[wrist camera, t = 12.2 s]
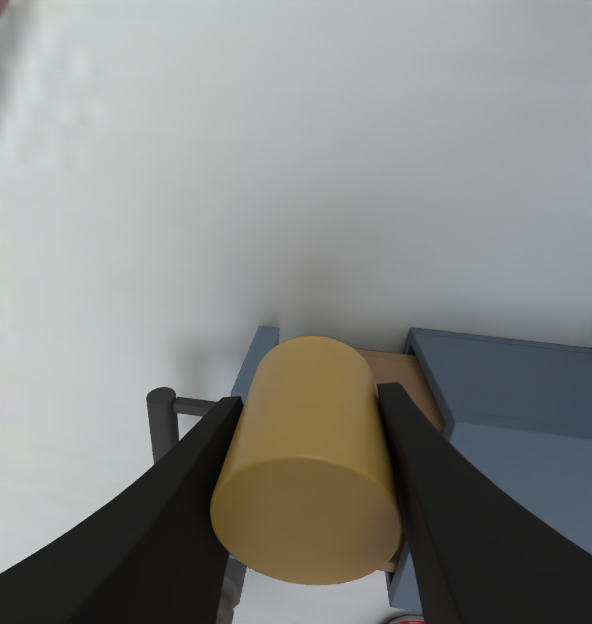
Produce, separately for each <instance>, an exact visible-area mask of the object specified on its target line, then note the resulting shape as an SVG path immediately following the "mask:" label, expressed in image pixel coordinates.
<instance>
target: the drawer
mask: <svg viewBox="0 0 592 624" xmlns="http://www.w3.org/2000/svg"><path fill="white" fill-rule="evenodd" d="M279 330H280V329H279V328H274V327H266V326H259V327H258V330H257V332H256V334H255V337H254V339H253V342H252V344H251V346H250V349H249V351H248V353H247V356H246V358H245V360H244V363H243V365H242V367H241V370H240V372H239V375H238V377H237V379H236V382H235V384H234V386H233V389H232V391H231V397H234V396H241V398H242V402H243V405H244V404H245V401H246V398H247V395H248V392H249V389H250V387H251V384H252V381H253V378H254V375H255V372H256V369H257V367H258V365H259V363H260V362H261V360H262V359H263V357H264V356H265V355H266V354H267V353H268V352H269V351H270V350H271V349H273V348H274V347H275V346H277V345H278V343H279ZM353 349H354V350H356V351H357V352H358V353H359V354H360V355H361V356H362V357H363V358H364V359H365V360H366V361H367V363H368V364H369V366H370V368H371V370H372V372H373V375H374V377H375V382H376V387H377V384H381V383H392V382H399V383H400V384H402V385H403V387H404V389H405V390H406V392H407V393H408V394H409V396H410V397H411V399H412V400H413V401H414V402H415V404H416V405H417V406H418V407H419V409H420V410H421V411H422V412H423V414H424V415H425V416H426V417H427V418H428V419H429V421H430V422H431V423H432V424H433V425H434V426H435V427H436V428H437V429H438V431H439V432H440V433H441V434H443V431H444V428H445V425H446V422H445V421H444V418H443V416H442V414H441V411H440V409H439V407H438V405H437V402H436V400H435V398H434V395H433V393H432V391H431V388H430V386H429V384H428V382H427V379H426V377H425V375H424V372H423V370H422V368H421V366H420V363H419V361H418V359H417V356H413V355H405V354H396V353H388V352H380V351H371V350H363V349H355V348H353ZM377 392H378V388H377ZM146 400H147V409H148V417H149V425H150V434H151V442H152V451H153V459H154V464H156V463H157V462H158V461H159V460H160V459H161V458H162V457H163V456H164V455H165V454H166V453H167V452H168V451H170V450H171V449H172V448H173V447H174V446H175V445H176V444H177V443H178V442H179V431H178V418H177V413H181V414H188V415H196V416H203V417H204V416H205V415H206V414H207V412H208V411H209V410H210V409H211V408H212V407H213V406H214V405H215V404H216V403H217V402H214V401H206V400H199V399H191V398H183V397H177V398H176V393H175V391H174V390H173V389H171V388H168V387H160V388H156V389H154V390H152V391H151V392H149V393H148V395H147V398H146ZM406 539H407V538H406V534H405V531H404V527H403V534H402V538H401V542H400V545H399V547H398V549H397V551H396V552H395V554H394V555H393V556H392V558H391V559H390V560H389V561H388V562H387V563H386V564H384V565H383V566H382V567H381V568H379V569H378V570H381V571H387V572H394V573H395V571H396V568H397V565H398V562H399V560H400V557H401V554H402V551H403V548H404V545H405V542H406ZM230 558H233V559H236V558H235V557H234V556H232V555H231V554H230Z"/></svg>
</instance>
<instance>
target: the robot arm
mask: <svg viewBox="0 0 592 624" xmlns="http://www.w3.org/2000/svg"><path fill="white" fill-rule="evenodd" d="M377 388H378V398H379V404H380V409H381V414H382V419H383V424H384V428H385V432H386V437H387V442H388V447H389V452H390V457H391V462H392V467H393V472H394V476H395V481H396V486H397V491H398V496H399V501H400V506H401V511H402V517H403V527H404V531H405V534H406V538H407V542H408V545H409V549H410V553H411V558H412V562H413V566H414V571H415V576H416V581H417V586H418V592H419V597H420V602H421V608H422V613H423V618H424V624H592V555H591V554H590V553H588V552H587V551H585V550H584V549H582V548H581V547H579V546H578V545H576V544H575V543H573V542H572V541H570V540H569V539H567V538H566V537H564V536H563V535H562V534H560V533H559V532H557V531H556V530H555V529H553V528H552V527H551V526H549V525H548V524H546V523H545V522H544V521H542V520H541V519H540V518H538V517H537V516H535V515H534V514H533V513H531V512H530V511H529V510H527V509H526V508H524V507H523V506H522V505H520V504H519V503H518V502H516V501H515V500H514V499H513V498H511V497H510V496H509V495H508V494H507V493H505V492H504V491H503V490H502V489H500V488H499V487H498V486H497V485H495V484H494V483H493V482H492V481H491V480H490V479H488V478H487V477H486V476H485V475H484V474H483V473H481V472H480V471H479V470H478V469H477V468H476V467H475V466H474V465H473V464H471V463H470V462H469V461H468V460H467V459H466V458H465V457H464V456H463V455H462V454H461V453H460V452H459V451H458V450H457V449H456V448H455V447H454V446H453V445H452V444H451V443H450V442H449V441H448V440H447V439H446V438H445V437H444V436H443V435H442V434H441V433H440V432H439V431H438V429H437V428H436V427H435V426H434V425H433V424H432V423H431V422H430V421H429V419H428V418H427V417H426V416H425V415H424V414H423V412H422V411H421V410H420V409H419V407H418V406H417V405H416V404H415V402H414V401H413V400H412V399H411V397H410V396H409V394H408V393H407V392H406V390H405V389H404V387H403V385H402V384H400V383H399V382H392V383H381V384H377ZM243 407H244V405H243V402H242V398H241V396H234V397H223V398H222V399H221V400H219V401H218V402H217V403H216V404H215V405H214V406H213V407H212V408H211V409H210V410H209V411H208V412H207V414H206V415H205V416H204V417H203V418H202V419H201V420H200V421H199V422H198V423H197V424H196V425H195V426H194V427H193V428H192V429H191V430H190V431H189V432H188V433H187V434H186V435H185V436H184V437H183V438H182V439H181V440H180V441H179V442H178V443H177V444H176V445H175V446H174V447H173V448H172V449H171V450H170V451H168V452H167V453H166V454H165V455H164V456H163V457H162V458H161V459H160V460H159V461H158V462H157V463H156V464H154V465H153V466H152V467H151V468H150V469H149V470H148V471H147V472H146V473H144V474H143V475H142V476H141V477H140V478H139V479H137V480H136V481H135V482H134V483H133V484H131V485H130V486H129V487H128V488H126V489H125V490H124V491H123V492H121V493H120V494H119V495H118V496H116V497H115V498H114V499H113V500H111V501H110V502H109V503H107V504H106V505H105V506H103V507H102V508H100V509H99V510H98V511H96V512H95V513H93V514H92V515H91V516H89V517H88V518H86V519H85V520H84V521H82V522H81V523H79V524H78V525H77V526H75V527H74V528H72V529H71V530H69V531H68V532H66V533H65V534H63V535H62V536H60V537H59V538H57V539H56V540H54V541H53V542H51V543H50V544H48V545H47V546H45V547H43V548H42V549H40V550H39V551H37V552H35V553H34V554H32V555H31V556H29V557H27V558H26V559H24V560H22V561H21V562H19V563H17V564H16V565H14V566H12V567H11V568H9V569H7V570H6V571H4V572H2V573H0V624H216V620H217V614H218V608H219V603H220V597H221V592H222V586H223V581H224V575H225V570H226V566H227V562H228V557H229V552H228V551H227V550H226V549H225V547H224V546H223V545H222V544H221V542H220V541H219V539H218V538H217V536H216V534H215V532H214V530H213V527H212V523H211V517H210V503H211V499H212V495H213V492H214V490H215V487H216V484H217V481H218V478H219V475H220V472H221V470H222V467H223V464H224V461H225V458H226V455H227V452H228V450H229V447H230V444H231V441H232V438H233V435H234V432H235V429H236V427H237V424H238V421H239V418H240V415H241V412H242V409H243Z"/></svg>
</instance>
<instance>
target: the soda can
mask: <svg viewBox="0 0 592 624" xmlns="http://www.w3.org/2000/svg"><path fill="white" fill-rule="evenodd" d="M389 624H424V618H423V617H422V616H412V615H411V616H403V617H399V618H396V619H394V620H392V621H391V622H390V623H389Z"/></svg>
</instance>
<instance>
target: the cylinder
mask: <svg viewBox="0 0 592 624" xmlns="http://www.w3.org/2000/svg"><path fill="white" fill-rule="evenodd" d="M210 517H211V523H212V527H213V530H214V532H215V534H216V536H217V538H218V539H219V541H220V542H221V544H222V545H223V546H224V547H225V549H226V550H227V551H228V552H229V553H230V554H231V555H232V556H234V557H235V558H236V559H237V560H239V561H240V562H241V563H243V564H244V565H246V566H248V567H249V568H251V569H253V570H255V571H257V572H259V573H261V574H263V575H266V576H269V577H272V578H275V579H278V580H282V581H286V582H291V583H296V584H305V585H331V584H339V583H344V582H349V581H353V580H356V579H359V578H362V577H364V576H367V575H369V574H371V573H373V572H374V571H376V570H378V569H379V568H381V567H382V566H383V565H384V564H386V563H387V562H388V561H389V560H390V559H391V558H392V556H393V555H394V554H395V552H396V551H397V549H398V547H399V545H400V542H401V538H402V534H403V517H402V511H401V506H400V501H399V496H398V491H397V486H396V481H395V476H394V472H393V467H392V462H391V457H390V452H389V447H388V442H387V437H386V432H385V428H384V424H383V419H382V414H381V409H380V404H379V398H378V392H377V387H376V382H375V377H374V375H373V372H372V370H371V368H370V366H369V364H368V363H367V361H366V360H365V359H364V358H363V357H362V356H361V355H360V354H359V353H358V352H357V351H356V350H354V349H353V348H352V347H350V346H348V345H347V344H345V343H343V342H340V341H338V340H335V339H332V338H328V337H323V336H302V337H297V338H293V339H290V340H287V341H285V342H283V343H280V344H279V345H277V346H275V347H274V348H273V349H271V350H270V351H269V352H268V353H267V354H266V355H265V356H264V357H263V359H262V360H261V362H260V363H259V365H258V367H257V369H256V372H255V375H254V378H253V381H252V384H251V387H250V389H249V392H248V395H247V398H246V401H245V404H244V407H243V409H242V412H241V415H240V418H239V421H238V424H237V427H236V429H235V432H234V435H233V438H232V441H231V444H230V447H229V450H228V452H227V455H226V458H225V461H224V464H223V467H222V470H221V472H220V475H219V478H218V481H217V484H216V487H215V490H214V492H213V495H212V499H211V503H210Z"/></svg>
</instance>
